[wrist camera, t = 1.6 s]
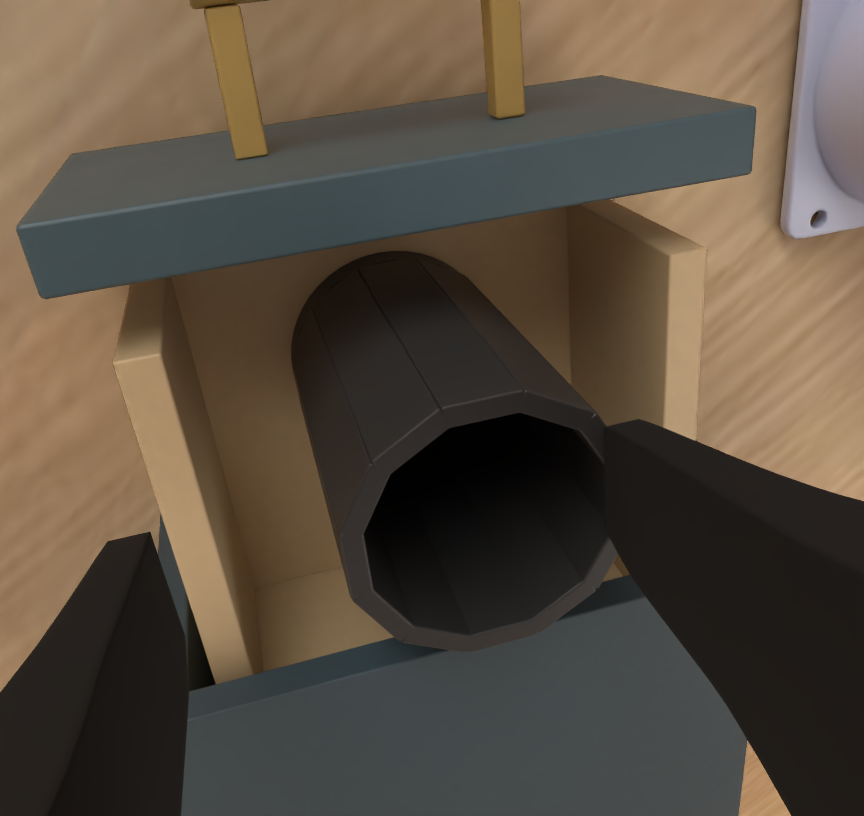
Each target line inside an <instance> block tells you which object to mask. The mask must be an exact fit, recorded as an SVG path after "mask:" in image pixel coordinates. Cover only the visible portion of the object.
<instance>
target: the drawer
mask: <svg viewBox="0 0 864 816" xmlns="http://www.w3.org/2000/svg"><path fill="white" fill-rule="evenodd" d="M259 1H267V0H189V2H190V6H191V7H192V8H193V9H202V8H205V9H204V14H205V19H206V24H207V28H208V33H209V38H210V42H211V47H212V52H213V56H214V61H215V66H216V70H217V75H218V80H219V85H220V89H221V94H222V99H223V103H224V108H225V113H226V117H227V122H228V127H229V131H222V132H216V133H209V134H202V135H195V136H189V137H182V138H175V139H168V140H162V141H155V142H148V143H141V144H135V145H128V146H121V147H114V148H108V149H101V150H94V151H88V152H81V153H74V154H72V155H70V156H69V158H68V159H67V160H66V162H65V163H64V164H63V166H62V167H61V168H60V169H59V171H58V172H57V173H56V175H55V176H54V177H53V179H52V180H51V181H50V183H49V184H48V185H47V187H46V188H45V189H44V191H43V192H42V193H41V195H40V196H39V197H38V199H37V200H36V201H35V202H34V204H33V205H32V206H31V208H30V209H29V210H28V212H27V213H26V214H25V216H24V217H23V218H22V220H21V221H20V222H19V224H18V225H17V228H16V231H17V233H18V236H19V239H20V242H21V245H22V248H23V250H24V253H25V256H26V259H27V262H28V265H29V267H30V270H31V273H32V276H33V279H34V282H35V284H36V287H37V290H38V293H39V295H40V296H41V298H43V299H49V298H55V297H60V296H66V295H71V294H77V293H83V292H88V291H94V290H100V289H105V288H111V287H117V286H122V285H128V284H130V288H129V293H128V297H127V302H126V306H125V311H124V316H123V320H122V325H121V329H120V334H119V339H118V343H117V348H116V352H115V357H114V362H113V366H114V369H115V372H116V375H117V379H118V382H119V385H120V388H121V391H122V394H123V397H124V400H125V403H126V407H127V410H128V413H129V416H130V419H131V422H132V425H133V428H134V431H135V435H136V438H137V441H138V444H139V447H140V450H141V453H142V456H143V459H144V463H145V466H146V469H147V472H148V475H149V478H150V481H151V484H152V487H153V491H154V494H155V497H156V500H157V503H158V506H159V509H160V512H161V516H162V519H163V522H164V525H165V528H166V531H167V534H168V537H169V540H170V544H171V547H172V550H173V553H174V556H175V559H176V562H177V565H178V568H179V572H180V575H181V578H182V581H183V584H184V587H185V590H186V593H187V596H188V600H189V603H190V606H191V609H192V612H193V615H194V618H195V621H196V624H197V628H198V631H199V634H200V637H201V640H202V643H203V646H204V649H205V652H206V656H207V659H208V662H209V665H210V668H211V671H212V674H213V677H214V681H215V684H219V683H223V682H227V681H231V680H235V679H238V678H242V677H246V676H250V675H253V674H257V673H261V672H265V671H268V670H272V669H276V668H280V667H284V666H287V665H291V664H295V663H299V662H302V661H306V660H310V659H314V658H317V657H321V656H325V655H329V654H333V653H336V652H340V651H344V650H348V649H351V648H355V647H359V646H363V645H366V644H370V643H374V642H378V641H382V640H385V639H389V638H393V636H392V635H391V634H390V633H389V632H388V631H387V630H385V629H384V628H383V627H382V626H381V625H380V624H378V623H377V622H376V621H375V620H374V619H373V618H371V617H370V616H369V615H368V614H367V613H366V612H365V611H363V610H362V609H361V608H360V607H359V606H358V605H356V604H355V603H354V602H353V600H352V598H351V597H350V594H349V590H348V586H347V582H346V579H345V575H344V571H343V567H342V563H341V559H340V555H339V551H338V548H337V544H336V540H335V536H334V532H333V528H332V524H331V521H330V517H329V513H328V509H327V505H326V501H325V497H324V493H323V490H322V486H321V482H320V478H319V474H318V470H317V466H316V463H315V459H314V455H313V451H312V447H311V443H310V439H309V435H308V432H307V428H306V424H305V420H304V416H303V412H302V408H301V404H300V399H299V394H298V389H297V385H296V380H295V377H294V373H293V368H292V361H291V344H292V337H293V331H294V328H295V325H296V321H297V319H298V316H299V314H300V312H301V310H302V308H303V306H304V304H305V303H306V301H307V300H308V298H309V296H310V295H311V294H312V293H313V292H314V290H315V289H316V288H317V287H318V285H320V284H321V283H322V282H323V281H324V280H325V279H326V278H327V277H328V276H329V275H331V274H332V273H333V272H335V271H336V270H338V269H339V268H340V267H342V266H344V265H346V264H348V263H350V262H352V261H354V260H356V259H359V258H361V257H364V256H367V255H371V254H375V253H379V252H388V251H409V252H415V253H421V254H424V255H428V256H431V257H434V258H436V259H438V260H440V261H443V262H445V263H446V264H448V265H449V266H451V267H452V268H454V269H455V270H456V271H458V272H459V273H460V274H463V275H465V276H466V277H467V278H468V279H469V280H470V281H471V282H472V283H473V284H474V285H475V286H476V287H477V288H478V289H479V290H480V291H481V292H482V293H483V294H484V295H485V296H486V297H487V298H488V299H489V300H490V301H491V302H492V304H493V305H494V306H495V307H496V308H497V309H498V310H499V311H500V312H501V313H502V314H503V315H504V316H505V317H506V318H507V319H508V320H509V321H510V322H511V323H512V324H513V325H514V326H515V328H516V329H517V330H518V331H519V332H520V333H521V334H522V335H523V336H524V337H525V338H526V339H527V340H528V341H529V342H530V343H531V344H532V345H533V346H534V347H535V348H536V349H537V350H538V352H539V353H540V354H541V355H542V356H543V357H544V358H545V359H546V360H547V361H548V362H549V363H550V364H551V365H552V366H553V367H554V368H555V369H556V370H557V371H558V372H559V373H560V374H561V375H562V377H563V378H564V379H565V380H566V381H567V382H568V383H569V384H570V385H571V386H572V387H573V388H574V389H575V390H576V391H577V392H578V393H579V394H580V395H581V396H582V397H583V398H584V399H585V401H586V402H587V403H588V404H589V405H590V406H591V407H592V408H593V409H594V410H595V411H596V412H597V413H598V414H599V416H600V417H601V419H602V420H603V421H604V423H605V424H606V425H607V426H610V425H614V424H619V423H623V422H627V421H632V420H636V419H641V420H644V421H647V422H650V423H653V424H655V425H658V426H661V427H663V428H666V429H668V430H671V431H673V432H675V433H678V434H680V435H683V436H685V437H687V438H690V439H692V440H695V441H696V430H697V413H698V396H699V379H700V362H701V345H702V328H703V311H704V294H705V277H706V260H707V249H706V248H705V247H703V246H701V245H699V244H697V243H695V242H693V241H691V240H689V239H687V238H685V237H683V236H681V235H679V234H677V233H675V232H673V231H671V230H669V229H667V228H665V227H663V226H661V225H659V224H657V223H655V222H653V221H651V220H649V219H647V218H645V217H643V216H641V215H639V214H637V213H635V212H633V211H631V210H629V209H627V208H625V207H623V206H621V205H619V204H617V203H615V202H613V201H611V200H609V199H613V198H619V197H624V196H630V195H636V194H641V193H647V192H652V191H658V190H664V189H669V188H675V187H681V186H686V185H692V184H698V183H703V182H709V181H715V180H720V179H726V178H731V177H737V176H743V175H747V174H749V173H751V170H752V159H753V147H754V135H755V122H756V108H755V107H754V106H750V105H745V104H740V103H735V102H730V101H725V100H720V99H716V98H711V97H706V96H701V95H696V94H691V93H686V92H681V91H676V90H671V89H667V88H662V87H657V86H652V85H647V84H642V83H637V82H632V81H627V80H622V79H617V78H613V77H608V76H603V75H600V76H593V77H586V78H580V79H573V80H566V81H559V82H553V83H546V84H539V85H532V86H526V87H524V76H523V55H522V33H521V12H520V0H481V9H482V24H483V38H484V53H485V68H486V83H487V92H485V93H478V94H472V95H465V96H458V97H451V98H445V99H438V100H431V101H424V102H418V103H411V104H404V105H398V106H391V107H384V108H377V109H371V110H364V111H357V112H350V113H344V114H337V115H330V116H323V117H317V118H310V119H303V120H296V121H290V122H283V123H276V124H269V125H263V123H262V118H261V113H260V108H259V103H258V97H257V92H256V87H255V82H254V77H253V72H252V67H251V61H250V56H249V51H248V46H247V41H246V36H245V31H244V25H243V20H242V15H241V10H240V7H239V5H236V4H243V3H251V2H259ZM627 575H630V574H629V572H628V570H627V569H626V567H625V565H624V563H623V562H622V560H621V558H620V557H619V555H617V557H616V559H615V560H614V562H613V564H612V566H611V567H610V569H609V571H608V573H607V574H606V576H605V578H604V579H603V581H602V582H604V581H608V580H611V579H615V578H619V577H623V576H627Z"/></svg>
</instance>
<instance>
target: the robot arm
mask: <svg viewBox="0 0 864 816" xmlns="http://www.w3.org/2000/svg"><path fill="white" fill-rule="evenodd" d="M815 212H817V213H818V215H817V218H816V220H815V221H814V222H813V223H812V224H811V223H810V221H811V218H812V216H813V215H814V213H815ZM780 227H781V230H782V232H783V234H785V235H787V236H789V237H791V238H793V239H803V238H808V237H813V236H818V235H824V234H829V233H834V232H839V231H844V230H849V229H854V228H859V227H864V0H803V2H802V11H801V21H800V31H799V41H798V51H797V61H796V71H795V81H794V90H793V100H792V110H791V120H790V130H789V140H788V150H787V160H786V169H785V179H784V189H783V199H782V209H781V219H780ZM604 497H605V530H606V532H607V534H608V536H609V538H610V540H611V542H612V543H613V545H614V547H615V549H616V551H617V553H618V555H619V557H620V558H621V560H622V562H623V563H624V565H625V567H626V569H627V570H628V572H629V574H630V576H631V577H632V579H633V580H634V582H635V583H636V584H637V586H638V587H639V588H640V590H641V591H642V593H643V594H644V595H645V597H646V598H647V599H648V601H649V602H650V603H651V605H652V606H653V607H654V609H655V610H656V611H657V613H658V614H659V615H660V617H661V618H662V619H663V621H664V622H665V623H666V624H667V626H668V627H669V628H670V630H671V631H672V632H673V634H674V635H675V636H676V638H677V639H678V640H679V641H680V643H681V644H682V645H683V647H684V648H685V649H686V651H687V652H688V653H689V655H690V656H691V657H692V659H693V660H694V661H695V662H696V664H697V665H698V666H699V668H700V669H701V670H702V672H703V673H704V674H705V676H706V677H707V678H708V679H709V681H710V682H711V684H712V685H713V687H714V688H715V689H716V691H717V692H718V694H719V695H720V697H721V698H722V699H723V701H724V702H725V704H726V705H727V707H728V709H729V710H730V712H731V713H732V715H733V717H734V718H735V720H736V722H737V723H738V725H739V727H740V728H741V730H742V732H743V733H744V735H745V737H746V738H747V740H748V742H749V743H750V745H751V746H752V748H753V750H754V751H755V753H756V755H757V756H758V758H759V760H760V762H761V763H762V765H763V767H764V769H765V770H766V772H767V774H768V776H769V777H770V779H771V781H772V783H773V784H774V786H775V788H776V790H777V791H778V793H779V795H780V797H781V798H782V800H783V802H784V804H785V805H786V807H787V809H788V811H789V812H790V814H791V816H864V501H860V500H857V499H853V498H849V497H846V496H842V495H838V494H835V493H832V492H829V491H826V490H822V489H819V488H816V487H813V486H810V485H807V484H805V483H802V482H799V481H796V480H793V479H790V478H787V477H785V476H782V475H779V474H776V473H773V472H771V471H768V470H766V469H763V468H760V467H758V466H755V465H753V464H750V463H748V462H745V461H743V460H740V459H738V458H735V457H733V456H730V455H728V454H725V453H723V452H721V451H718V450H716V449H713V448H711V447H709V446H706V445H704V444H702V443H699V442H697V441H695V440H692V439H690V438H687V437H685V436H683V435H680V434H678V433H675V432H673V431H671V430H668V429H666V428H663V427H661V426H658V425H655V424H653V423H650V422H647V421H644V420H641V419H636V420H632V421H627V422H623V423H619V424H614V425H610V426H606V427H604ZM188 704H189V688H188V669H187V655H186V641H185V634H184V631H183V628H182V625H181V622H180V619H179V616H178V613H177V610H176V607H175V604H174V601H173V598H172V595H171V592H170V589H169V586H168V583H167V580H166V577H165V574H164V571H163V568H162V566H161V563H160V560H159V557H158V554H157V551H156V548H155V545H154V542H153V539H152V536H151V533H150V532H147V533H142V534H138V535H134V536H129V537H125V538H121V539H117V540H112V541H108V542H107V543H106V545H105V546H104V547H103V549H102V550H101V552H100V553H99V555H98V556H97V558H96V559H95V560H94V562H93V564H92V565H91V567H90V568H89V570H88V571H87V573H86V574H85V576H84V577H83V579H82V580H81V582H80V583H79V585H78V586H77V588H76V589H75V591H74V592H73V594H72V596H71V597H70V599H69V600H68V602H67V603H66V605H65V606H64V608H63V609H62V610H61V612H60V613H59V615H58V616H57V618H56V619H55V620H54V622H53V623H52V625H51V626H50V628H49V629H48V630H47V632H46V633H45V635H44V636H43V638H42V639H41V640H40V642H39V643H38V645H37V646H36V647H35V649H34V650H33V651H32V653H31V654H30V655H29V656H28V658H27V659H26V660H25V662H24V663H23V664H22V665H21V667H20V668H19V669H18V671H17V672H16V673H15V674H14V676H13V677H12V678H11V680H10V681H9V682H8V683H7V685H6V686H5V687H4V689H3V690H2V691H1V692H0V816H181V807H182V793H183V779H184V765H185V751H186V736H187V721H188Z"/></svg>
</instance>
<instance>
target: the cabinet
mask: <svg viewBox="0 0 864 816" xmlns="http://www.w3.org/2000/svg"><path fill="white" fill-rule="evenodd" d="M158 557H159V560H160V563H161V566H162V568H163V571H164V574H165V577H166V580H167V583H168V586H169V589H170V592H171V595H172V598H173V601H174V604H175V607H176V610H177V613H178V616H179V619H180V622H181V625H182V628H183V631H184V634H185V641H186V655H187V669H188V688H189V704H188V721H187V736H186V751H185V765H184V779H183V793H182V807H181V816H738V815H739V806H740V798H741V789H742V781H743V772H744V764H745V755H746V747H747V738H746V737H745V735H744V733H743V732H742V730H741V728H740V727H739V725H738V723H737V722H736V720H735V718H734V717H733V715H732V713H731V712H730V710H729V709H728V707H727V705H726V704H725V702H724V701H723V699H722V698H721V697H720V695H719V694H718V692H717V691H716V689H715V688H714V687H713V685H712V684H711V682H710V681H709V679H708V678H707V677H706V676H705V674H704V673H703V672H702V670H701V669H700V668H699V666H698V665H697V664H696V662H695V661H694V660H693V659H692V657H691V656H690V655H689V653H688V652H687V651H686V649H685V648H684V647H683V645H682V644H681V643H680V641H679V640H678V639H677V638H676V636H675V635H674V634H673V632H672V631H671V630H670V628H669V627H668V626H667V624H666V623H665V622H664V621H663V619H662V618H661V617H660V615H659V614H658V613H657V611H656V610H655V609H654V607H653V606H652V605H651V603H650V602H649V601H648V599H647V598H646V597H645V595H644V594H643V593H642V591H641V590H640V588H639V587H638V586H637V584H636V583H635V582H634V580H633V579H632V577H631V576H630V575H627V576H623V577H619V578H615V579H611V580H608V581H604V582H602V583H601V585H600V586H599V588H596V591H595V592H594V593H592V594H591V595H590V596H588V597H587V598H586V599H584V600H583V601H582V602H580V603H579V604H578V605H576V606H575V607H574V608H572V609H571V610H570V611H568V612H567V613H566V614H564V615H563V616H562V617H560V618H559V619H558V620H556V621H555V622H554V623H552V624H551V625H550V626H548V627H547V628H546V629H544V630H543V631H542V632H540V633H539V632H537V634H536V635H533V636H529V637H525V638H522V639H518V640H514V641H511V642H507V643H503V644H500V645H496V646H492V647H489V648H485V649H481V650H478V651H474V652H466V653H464V652H457V651H451V650H445V649H439V648H433V647H426V646H420V645H414V644H408V643H403V642H401V641H398V640H397V639H396V638H395V637H393V638H389V639H385V640H382V641H378V642H374V643H370V644H366V645H363V646H359V647H355V648H351V649H348V650H344V651H340V652H336V653H333V654H329V655H325V656H321V657H317V658H314V659H310V660H306V661H302V662H299V663H295V664H291V665H287V666H284V667H280V668H276V669H272V670H268V671H265V672H261V673H257V674H253V675H250V676H246V677H242V678H238V679H235V680H231V681H227V682H223V683H219V684H215V681H214V677H213V674H212V671H211V668H210V665H209V662H208V659H207V656H206V652H205V649H204V646H203V643H202V640H201V637H200V634H199V631H198V628H197V624H196V621H195V618H194V615H193V612H192V609H191V606H190V603H189V600H188V596H187V593H186V590H185V587H184V584H183V581H182V578H181V575H180V572H179V568H178V565H177V562H176V559H175V556H174V553H173V550H172V547H171V544H170V540H169V537H168V534H167V531H166V528H165V525H164V522H163V519H162V516H161V514H160V533H159V549H158Z"/></svg>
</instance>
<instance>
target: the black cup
mask: <svg viewBox="0 0 864 816" xmlns="http://www.w3.org/2000/svg"><path fill="white" fill-rule="evenodd" d="M291 361H292V368H293V373H294V377H295V380H296V385H297V389H298V394H299V399H300V404H301V408H302V412H303V416H304V420H305V424H306V428H307V432H308V435H309V439H310V443H311V447H312V451H313V455H314V459H315V463H316V466H317V470H318V474H319V478H320V482H321V486H322V490H323V493H324V497H325V501H326V505H327V509H328V513H329V517H330V521H331V524H332V528H333V532H334V536H335V540H336V544H337V548H338V551H339V555H340V559H341V563H342V567H343V571H344V575H345V579H346V582H347V586H348V590H349V594H350V597H351V598H352V600H353V602H354V603H355V604H356V605H358V606H359V607H360V608H361V609H362V610H363V611H365V612H366V613H367V614H368V615H369V616H370V617H371V618H373V619H374V620H375V621H376V622H377V623H378V624H380V625H381V626H382V627H383V628H384V629H385V630H387V631H388V632H389V633H390V634H391V635H392V636H393V637H395V638H396V639H397V640H398V641H401V642H403V643H408V644H414V645H420V646H426V647H433V648H439V649H445V650H451V651H457V652H464V653H466V652H474V651H478V650H481V649H485V648H489V647H492V646H496V645H500V644H503V643H507V642H511V641H514V640H518V639H522V638H525V637H529V636H533V635H536V634H537V632H539V633H540V632H542V631H543V630H544V629H546V628H547V627H548V626H550V625H551V624H552V623H554V622H555V621H556V620H558V619H559V618H560V617H562V616H563V615H564V614H566V613H567V612H568V611H570V610H571V609H572V608H574V607H575V606H576V605H578V604H579V603H580V602H582V601H583V600H584V599H586V598H587V597H588V596H590V595H591V594H592V593H594V592H595V591H596V588H599V586H600V585H601V583H602V581H603V579H604V578H605V576H606V574H607V573H608V571H609V569H610V567H611V566H612V564H613V562H614V560H615V559H616V557H617V555H618V553H617V551H616V549H615V547H614V545H613V543H612V542H611V540H610V538H609V536H608V534H607V532H606V530H605V497H604V427H606V426H607V425H606V424H605V423H604V421H603V420H602V419H601V417H600V416H599V414H598V413H597V412H596V411H595V410H594V409H593V408H592V407H591V406H590V405H589V404H588V403H587V402H586V401H585V399H584V398H583V397H582V396H581V395H580V394H579V393H578V392H577V391H576V390H575V389H574V388H573V387H572V386H571V385H570V384H569V383H568V382H567V381H566V380H565V379H564V378H563V377H562V375H561V374H560V373H559V372H558V371H557V370H556V369H555V368H554V367H553V366H552V365H551V364H550V363H549V362H548V361H547V360H546V359H545V358H544V357H543V356H542V355H541V354H540V353H539V352H538V350H537V349H536V348H535V347H534V346H533V345H532V344H531V343H530V342H529V341H528V340H527V339H526V338H525V337H524V336H523V335H522V334H521V333H520V332H519V331H518V330H517V329H516V328H515V326H514V325H513V324H512V323H511V322H510V321H509V320H508V319H507V318H506V317H505V316H504V315H503V314H502V313H501V312H500V311H499V310H498V309H497V308H496V307H495V306H494V305H493V304H492V302H491V301H490V300H489V299H488V298H487V297H486V296H485V295H484V294H483V293H482V292H481V291H480V290H479V289H478V288H477V287H476V286H475V285H474V284H473V283H472V282H471V281H470V280H469V279H468V278H467V277H466V276H465V275H463V274H460V273H459V272H458V271H456V270H455V269H454V268H452V267H451V266H449V265H448V264H446V263H445V262H443V261H440V260H438V259H436V258H434V257H431V256H428V255H424V254H421V253H415V252H409V251H388V252H379V253H375V254H371V255H367V256H364V257H361V258H359V259H356V260H354V261H352V262H350V263H348V264H346V265H344V266H342V267H340V268H339V269H338V270H336V271H335V272H333V273H332V274H331V275H329V276H328V277H327V278H326V279H325V280H324V281H323V282H322V283H321V284H320V285H318V287H317V288H316V289H315V290H314V292H313V293H312V294H311V295H310V296H309V298H308V300H307V301H306V303H305V304H304V306H303V308H302V310H301V312H300V314H299V316H298V319H297V321H296V325H295V328H294V331H293V337H292V344H291Z"/></svg>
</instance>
